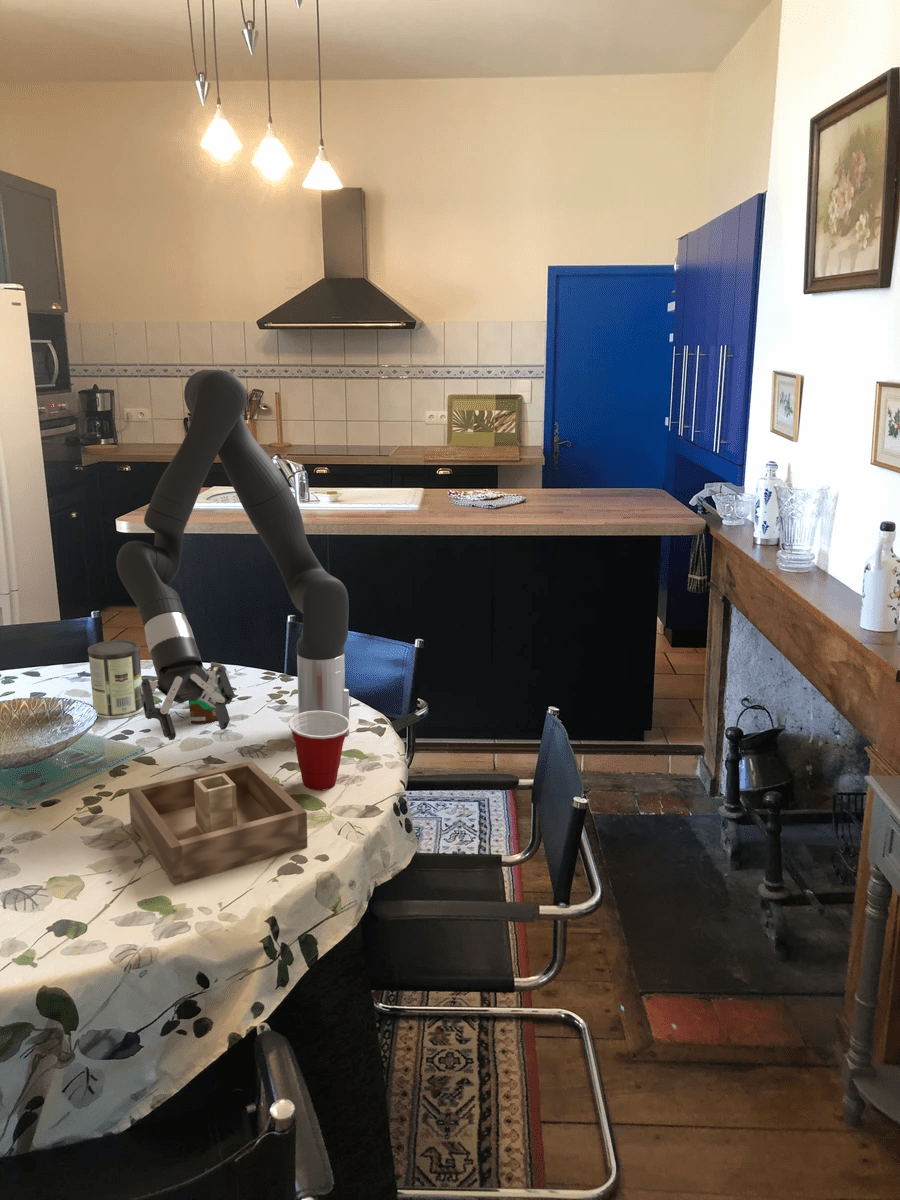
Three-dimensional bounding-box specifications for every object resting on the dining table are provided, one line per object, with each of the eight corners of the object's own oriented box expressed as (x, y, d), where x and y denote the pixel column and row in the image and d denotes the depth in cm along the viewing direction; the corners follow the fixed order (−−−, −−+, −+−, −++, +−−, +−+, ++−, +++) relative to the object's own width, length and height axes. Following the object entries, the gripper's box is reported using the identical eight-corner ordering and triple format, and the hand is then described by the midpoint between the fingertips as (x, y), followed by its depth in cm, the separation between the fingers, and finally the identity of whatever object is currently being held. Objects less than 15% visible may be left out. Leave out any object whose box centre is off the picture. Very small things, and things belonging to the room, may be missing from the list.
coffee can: (122, 698, 209) (117, 636, 205) (154, 708, 204) (150, 645, 200) (82, 712, 200) (76, 648, 197) (114, 723, 195) (109, 657, 192)
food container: (215, 729, 193) (213, 682, 190) (187, 726, 194) (185, 680, 191) (240, 707, 205) (238, 663, 202) (213, 705, 206) (211, 661, 203)
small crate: (226, 818, 155) (224, 773, 153) (237, 831, 151) (235, 784, 149) (196, 826, 152) (193, 780, 150) (207, 839, 148) (204, 792, 146)
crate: (253, 792, 166) (252, 760, 164) (307, 847, 148) (306, 812, 147) (130, 822, 155) (128, 788, 153) (173, 885, 137) (171, 848, 136)
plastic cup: (325, 803, 163) (324, 738, 159) (277, 787, 168) (275, 724, 165) (363, 780, 171) (363, 718, 168) (316, 766, 177) (315, 705, 174)
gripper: (132, 641, 153) (159, 732, 146) (218, 628, 160) (247, 714, 154) (125, 663, 158) (150, 751, 152) (209, 650, 166) (236, 733, 160)
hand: (199, 732), depth 153 cm, fingers open, 8 cm apart
